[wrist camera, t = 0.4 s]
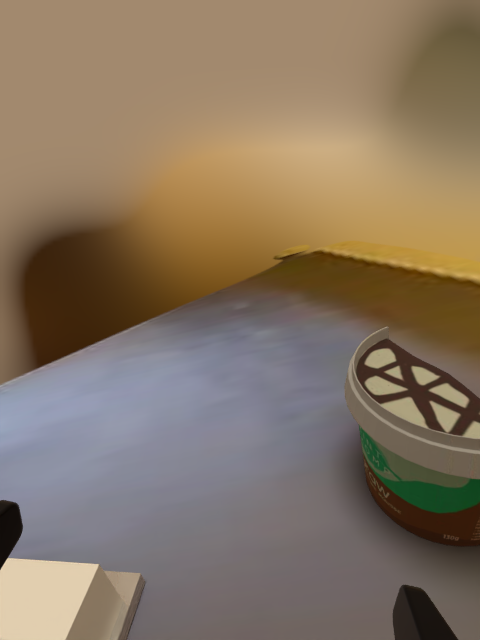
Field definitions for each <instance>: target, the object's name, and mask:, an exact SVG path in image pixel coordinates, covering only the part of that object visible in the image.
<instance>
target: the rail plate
mask: <svg viewBox="0 0 480 640" xmlns="http://www.w3.org/2000/svg"><path fill="white" fill-rule="evenodd" d="M104 572H105V574H106V575H107V577H108V578H109V580H110V581H111V583H112V584H113V586H114V588H115V589H116V591H117V592H118V594H119V595H120V597H121V598H122V600H123V603H122V606H121V609H120V611H119V614H118V617H117V620H116V622H115V625H114V628H113V631H112V633H111V636H110V639H109V640H126V639H127V636H128V633H129V630H130V627H131V624H132V621H133V618H134V615H135V612H136V609H137V606H138V603H139V599H140V596H141V593H142V590H143V587H144V584H145V580H144V579H143V577H142V575H141V573H126V572H112V571H104Z"/></svg>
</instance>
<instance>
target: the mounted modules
mask: <svg viewBox="0 0 480 640" xmlns="http://www.w3.org/2000/svg"><path fill="white" fill-rule="evenodd" d="M122 603H123V600H122V598H121V597H120V595H119V594H118V592H117V591H116V589H115V588H114V586H113V584H112V583H111V581H110V580H109V578H108V577H107V575H106V574H105V572H104V571H103V569H102V568H101V566H100V565H99V564H86V563H71V562H56V561H41V560H26V559H11V558H7V560H6V562H5V563H4V565H3V567H2V568H1V570H0V640H109V639H110V636H111V633H112V631H113V628H114V625H115V622H116V620H117V617H118V614H119V611H120V609H121V606H122Z"/></svg>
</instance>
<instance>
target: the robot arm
mask: <svg viewBox="0 0 480 640" xmlns="http://www.w3.org/2000/svg"><path fill="white" fill-rule="evenodd" d="M22 530H23V524H22V519H21V514H20V509H19V505H18V504H17V503H15V502H11V501H6V500H1V501H0V570H1V568H2V567H3V565H4V563H5V562H6V560H7V558H8V557H9V555H10V553H11V552H12V550H13V548H14V547H15V545H16V543H17V542H18V540H19V538H20V536H21V534H22ZM393 627H394V635H395V640H458V639H457V637H456V636H455V634H454V633H453V631H452V630H451V628H450V627H449V626H448V624H447V623H446V621H445V620H444V618H443V617H442V615H441V614H440V613H439V611H438V610H437V608H436V607H435V605H434V604H433V602H432V601H431V599H430V598H429V597H428V595H427V594H426V592H425V591H424V590H422V589H421V588H418V587H413V586H409V585H402V586H401V587H400V590H399V593H398V596H397V599H396V602H395V606H394V609H393Z"/></svg>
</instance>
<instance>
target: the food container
mask: <svg viewBox="0 0 480 640" xmlns="http://www.w3.org/2000/svg"><path fill="white" fill-rule="evenodd" d="M345 399H346V402H347V406H348V408H349V410H350V412H351V414H352V416H353V417H354V419H355V420H356V421H357V423H358V424H359V429H360V436H361V444H362V451H363V459H364V466H365V473H366V481H367V484H368V487H369V489H370V491H371V494H372V496H373V498H374V499H375V501H376V502H377V504H378V505H379V507H380V508H381V509H382V510H383V511H384V512H385V513H386V515H388V516H389V517H390V518H391V519H392V520H393V521H394V522H396V523H397V524H398V525H400V526H401V527H403V528H404V529H406V530H407V531H409V532H411V533H413V534H415V535H417V536H419V537H422V538H424V539H427V540H430V541H432V542H436V543H441V544H445V545H452V546H476V545H480V398H478V397H477V396H476V395H475V394H474V393H472V392H471V391H470V390H469V389H467V388H466V387H465V386H464V385H463V384H461V383H460V382H459V381H457V380H456V379H455V378H453V377H452V376H451V375H449V374H448V373H446V372H444V371H442V370H440V369H439V368H437V367H435V366H432V365H430V364H428V363H426V362H424V361H422V360H420V359H418V358H416V357H415V356H413V355H411V354H410V353H408V352H407V351H405V350H404V349H402V348H401V347H399V346H398V345H396V344H395V343H393V342H392V341H390V340H389V331H388V327H385V328H383V329H381V330H378V331H377V332H375V333H373V334H371V335H370V336H368V337H367V338H366V339H365V340H364V341H363V342H362V343H361V344H360V345H359V346H358V348H357V350H356V352H355V354H354V355H353V357H352V359H351V361H350V364H349V369H348V373H347V378H346V382H345Z"/></svg>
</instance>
